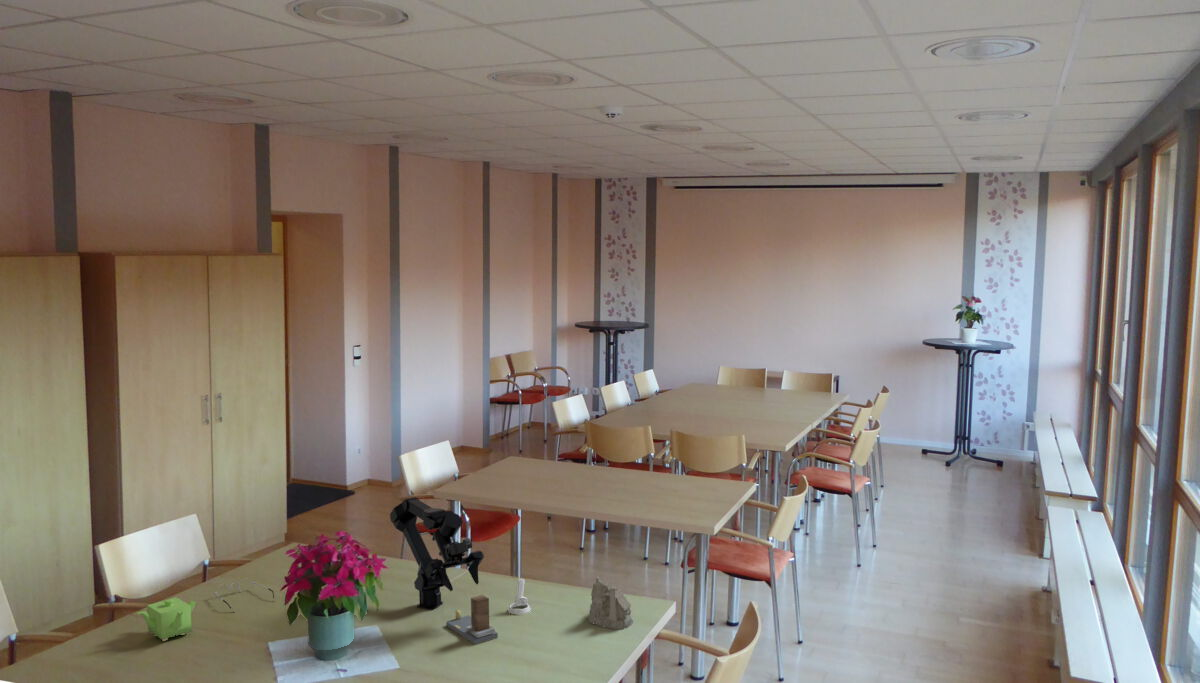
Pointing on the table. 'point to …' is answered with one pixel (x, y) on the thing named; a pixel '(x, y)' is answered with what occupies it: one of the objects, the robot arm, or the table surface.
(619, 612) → the ceramic cottage
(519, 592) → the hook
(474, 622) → the brown wooden block
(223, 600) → the eyeglasses
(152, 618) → the kettle
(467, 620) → the tensioner track
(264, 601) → the table surface
